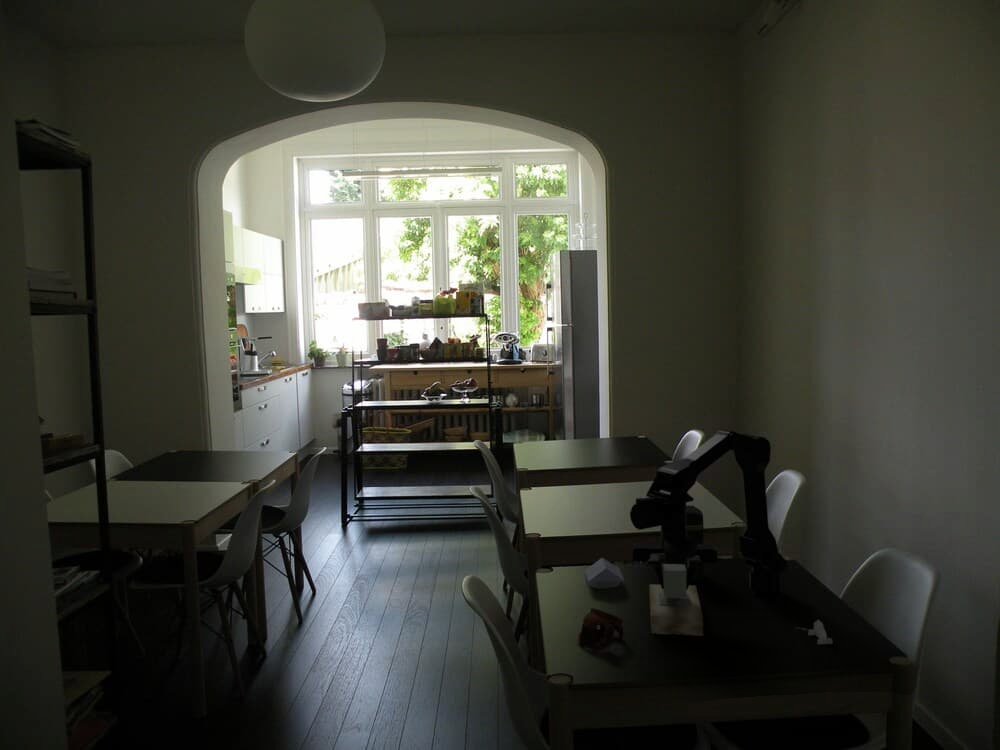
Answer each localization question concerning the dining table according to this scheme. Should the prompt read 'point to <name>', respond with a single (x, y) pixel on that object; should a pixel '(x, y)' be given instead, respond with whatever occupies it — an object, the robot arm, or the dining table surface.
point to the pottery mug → (602, 635)
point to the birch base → (675, 612)
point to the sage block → (674, 580)
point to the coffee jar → (695, 536)
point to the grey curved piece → (818, 633)
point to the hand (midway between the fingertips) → (674, 588)
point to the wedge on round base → (603, 575)
